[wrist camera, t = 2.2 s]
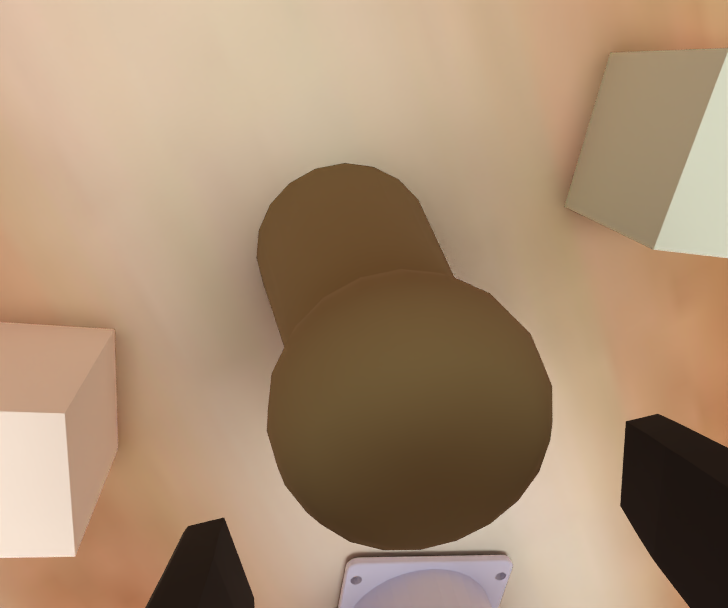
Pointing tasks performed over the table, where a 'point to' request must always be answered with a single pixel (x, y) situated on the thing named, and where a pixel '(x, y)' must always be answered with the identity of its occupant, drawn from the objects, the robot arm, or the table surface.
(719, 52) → the sage-green block
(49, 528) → the off-white block
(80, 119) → the table surface
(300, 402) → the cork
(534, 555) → the table surface
